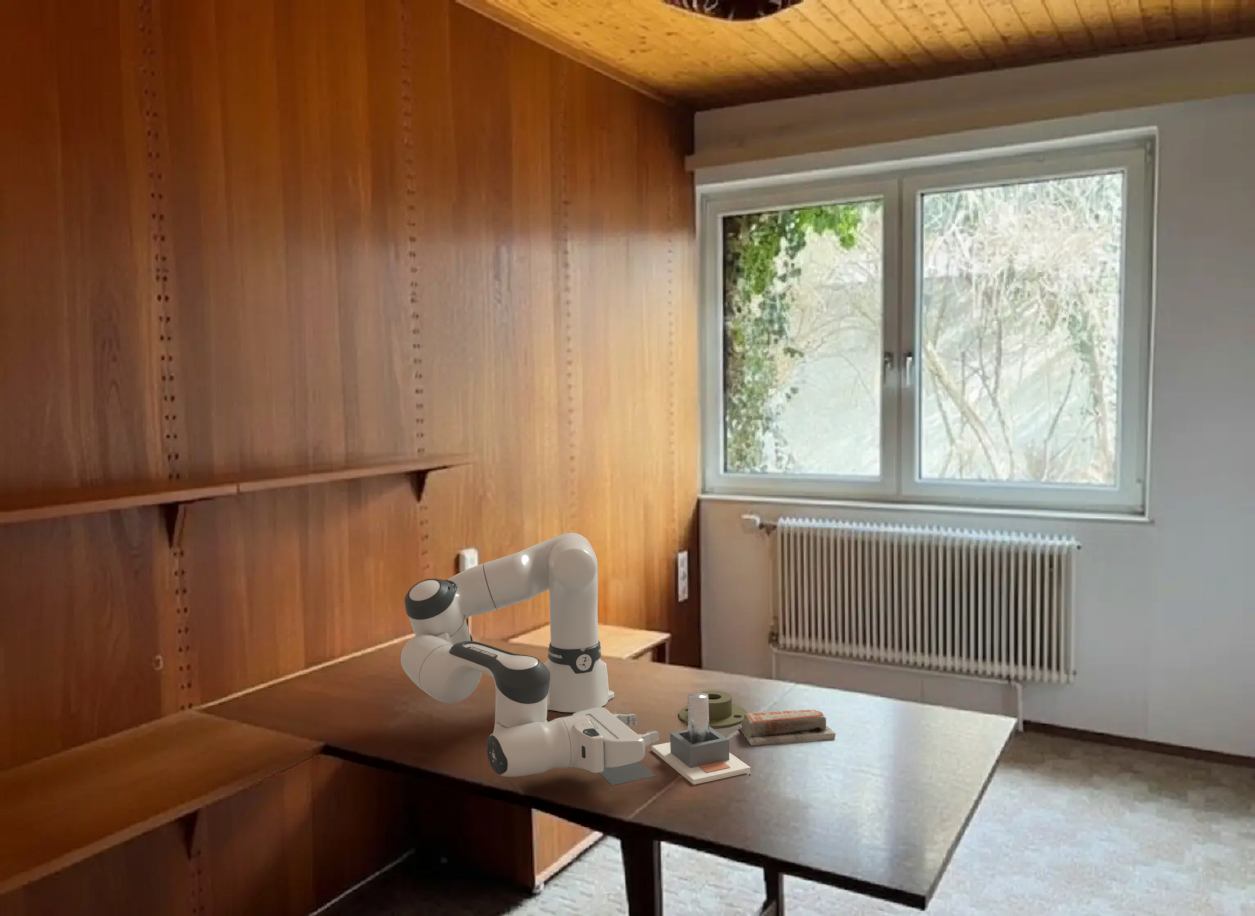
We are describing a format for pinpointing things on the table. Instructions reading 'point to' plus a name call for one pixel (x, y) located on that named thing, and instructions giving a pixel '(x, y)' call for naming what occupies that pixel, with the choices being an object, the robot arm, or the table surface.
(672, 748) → the mounting plate
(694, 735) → the barrel peg
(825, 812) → the table surface
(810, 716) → the packaged product
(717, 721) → the flange
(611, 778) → the pad
